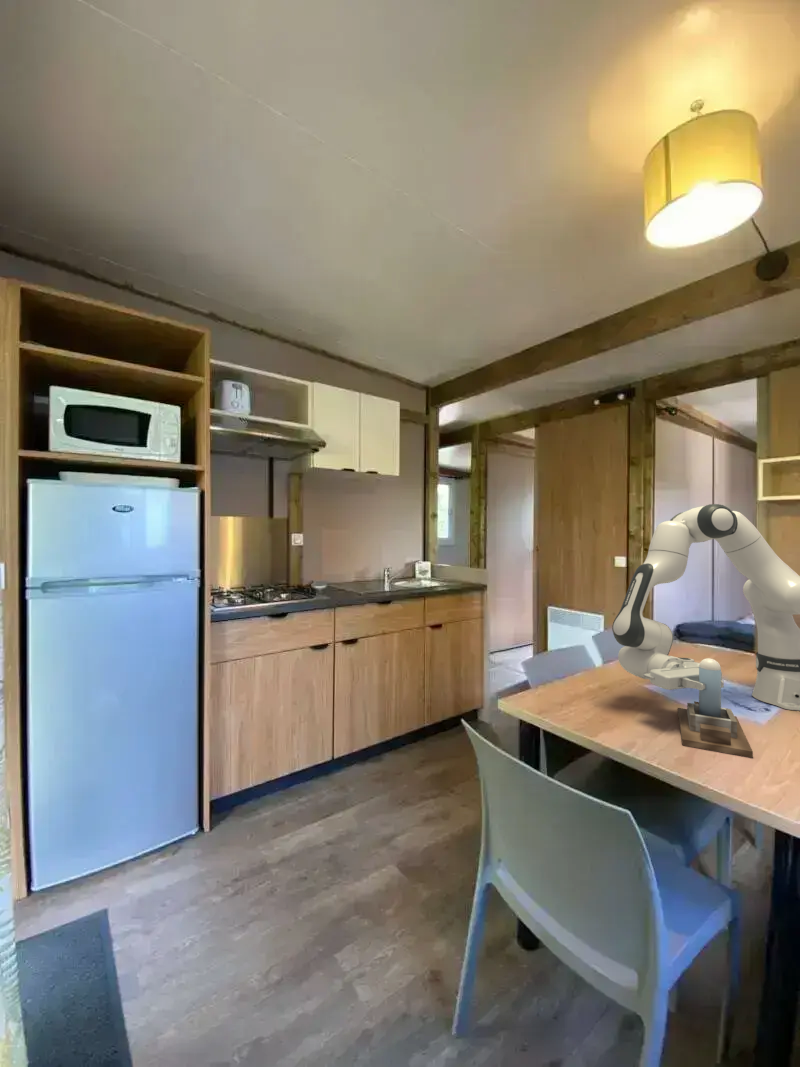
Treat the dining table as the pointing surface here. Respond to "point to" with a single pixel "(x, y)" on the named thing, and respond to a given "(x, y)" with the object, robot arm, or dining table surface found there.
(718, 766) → the dining table surface
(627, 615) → the robot arm
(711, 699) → the dome-topped blue cylinder
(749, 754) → the cradle
